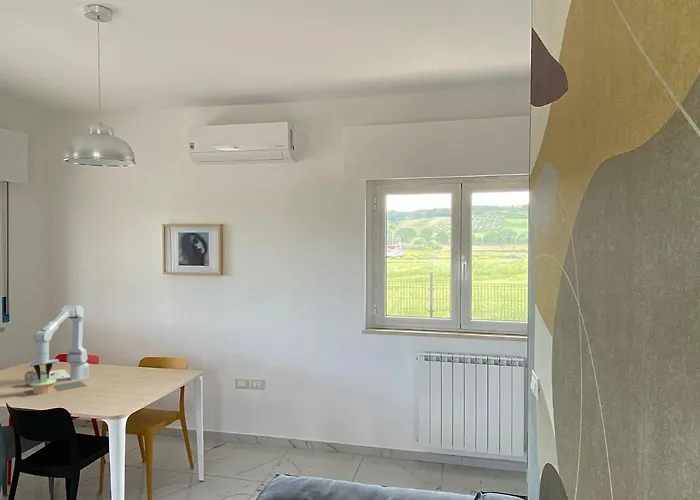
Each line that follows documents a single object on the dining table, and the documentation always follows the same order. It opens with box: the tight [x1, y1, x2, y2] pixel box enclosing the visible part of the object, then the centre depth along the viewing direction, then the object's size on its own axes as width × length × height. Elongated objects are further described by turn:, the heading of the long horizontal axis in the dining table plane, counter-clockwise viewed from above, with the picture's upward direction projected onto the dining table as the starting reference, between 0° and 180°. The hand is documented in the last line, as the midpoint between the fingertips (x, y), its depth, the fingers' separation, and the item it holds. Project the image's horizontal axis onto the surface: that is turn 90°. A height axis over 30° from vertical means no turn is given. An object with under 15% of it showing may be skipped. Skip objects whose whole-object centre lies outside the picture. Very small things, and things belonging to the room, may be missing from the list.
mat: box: [53, 380, 87, 392], centre depth 268 cm, size 14×14×1 cm
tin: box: [24, 369, 49, 386], centre depth 270 cm, size 15×3×8 cm, turn 74°
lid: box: [29, 373, 57, 387], centre depth 258 cm, size 12×12×5 cm
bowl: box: [32, 383, 54, 395], centre depth 258 cm, size 9×9×5 cm
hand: (43, 378), depth 258 cm, fingers closed on lid, 3 cm apart
